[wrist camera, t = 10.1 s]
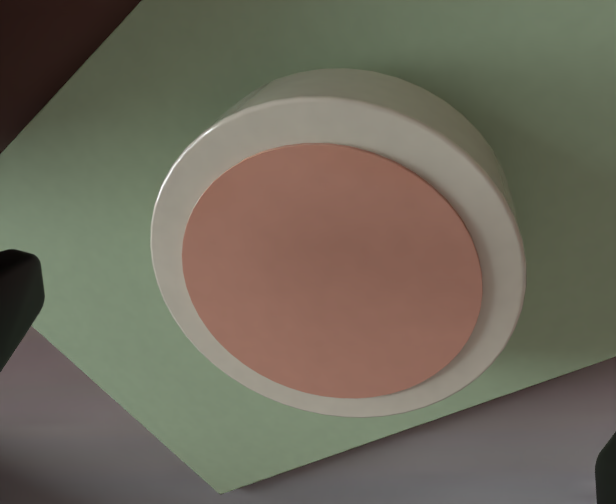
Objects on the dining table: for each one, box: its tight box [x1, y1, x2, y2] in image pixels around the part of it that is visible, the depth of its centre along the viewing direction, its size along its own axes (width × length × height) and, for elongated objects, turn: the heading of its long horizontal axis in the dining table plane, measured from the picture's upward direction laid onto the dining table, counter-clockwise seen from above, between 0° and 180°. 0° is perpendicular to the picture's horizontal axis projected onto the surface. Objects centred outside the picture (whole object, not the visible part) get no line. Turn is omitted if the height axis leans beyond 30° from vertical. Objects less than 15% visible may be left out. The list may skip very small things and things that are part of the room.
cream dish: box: [150, 68, 527, 418], centre depth 11 cm, size 7×7×3 cm
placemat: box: [0, 0, 616, 494], centre depth 12 cm, size 20×12×1 cm, turn 129°
